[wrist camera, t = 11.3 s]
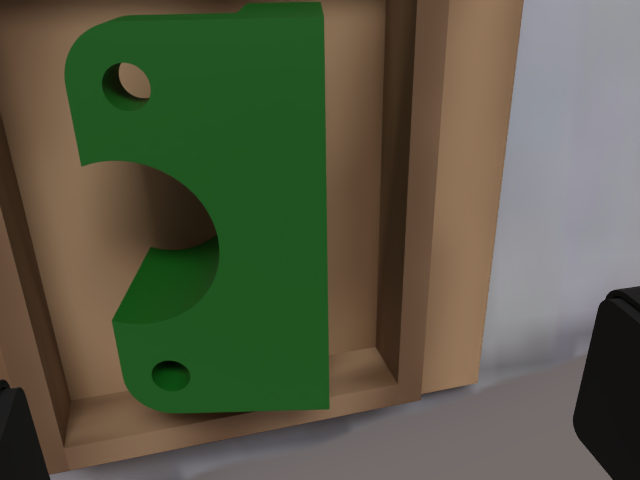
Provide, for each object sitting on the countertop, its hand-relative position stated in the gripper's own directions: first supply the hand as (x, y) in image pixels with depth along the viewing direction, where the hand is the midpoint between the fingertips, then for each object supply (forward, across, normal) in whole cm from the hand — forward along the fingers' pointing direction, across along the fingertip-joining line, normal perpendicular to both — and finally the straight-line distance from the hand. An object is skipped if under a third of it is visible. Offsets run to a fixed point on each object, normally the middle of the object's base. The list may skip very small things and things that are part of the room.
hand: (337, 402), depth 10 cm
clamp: (+12, +1, +1) cm, 12 cm away
